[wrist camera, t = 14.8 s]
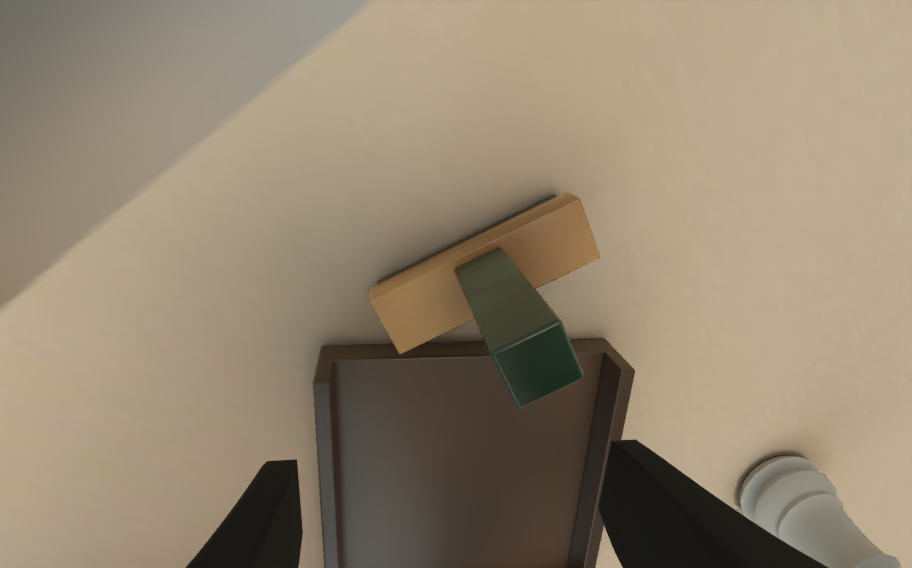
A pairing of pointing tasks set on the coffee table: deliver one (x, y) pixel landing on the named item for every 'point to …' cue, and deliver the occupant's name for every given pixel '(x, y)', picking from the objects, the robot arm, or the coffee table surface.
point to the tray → (461, 458)
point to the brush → (498, 294)
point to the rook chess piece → (807, 514)
